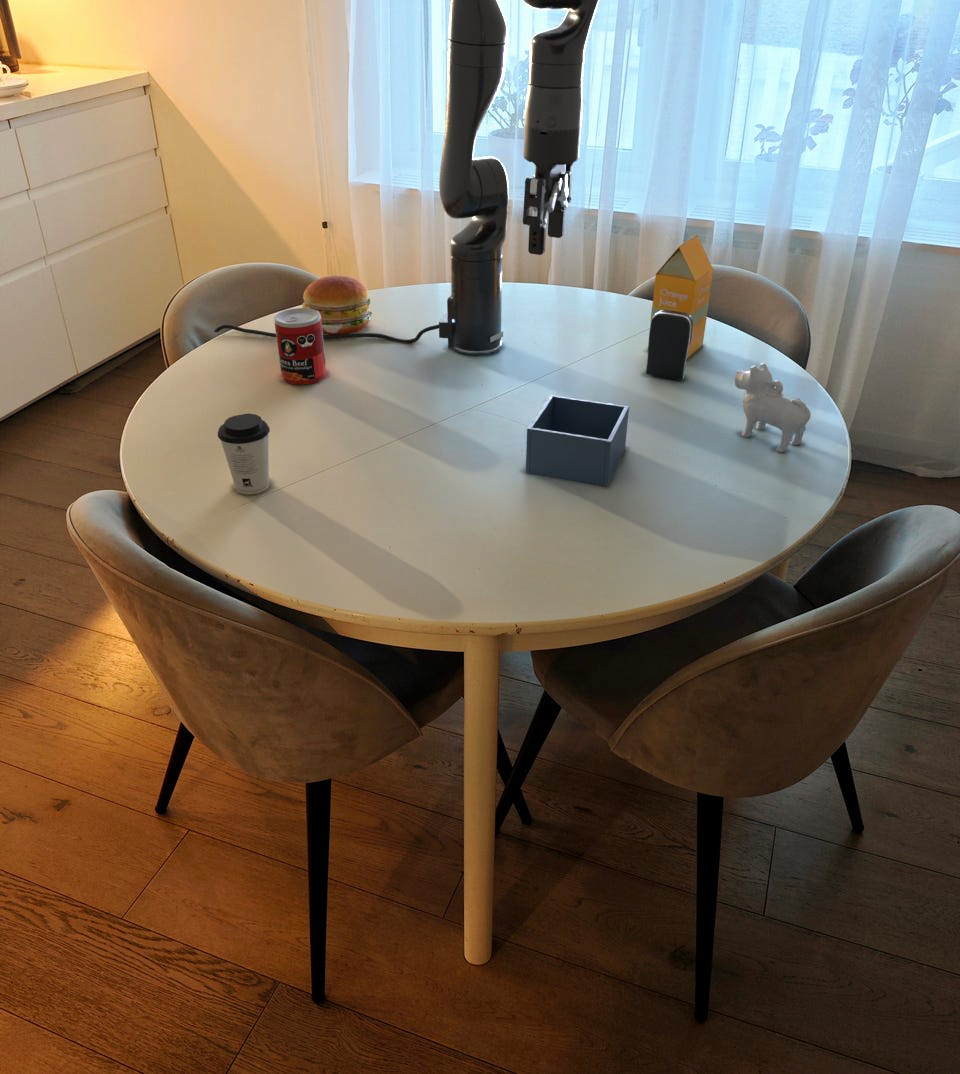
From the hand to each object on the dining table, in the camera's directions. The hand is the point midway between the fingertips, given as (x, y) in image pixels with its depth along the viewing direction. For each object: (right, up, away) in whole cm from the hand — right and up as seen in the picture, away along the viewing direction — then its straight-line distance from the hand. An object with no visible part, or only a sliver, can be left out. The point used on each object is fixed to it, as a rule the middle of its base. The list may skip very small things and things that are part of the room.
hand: (546, 245), depth 129 cm
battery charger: (+23, -13, +31) cm, 41 cm away
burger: (-37, -1, +50) cm, 62 cm away
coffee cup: (-41, -35, -2) cm, 54 cm away
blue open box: (+5, -27, +3) cm, 28 cm away
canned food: (-40, -14, +30) cm, 52 cm away
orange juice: (+27, -6, +41) cm, 50 cm away
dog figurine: (+35, -26, +11) cm, 45 cm away
